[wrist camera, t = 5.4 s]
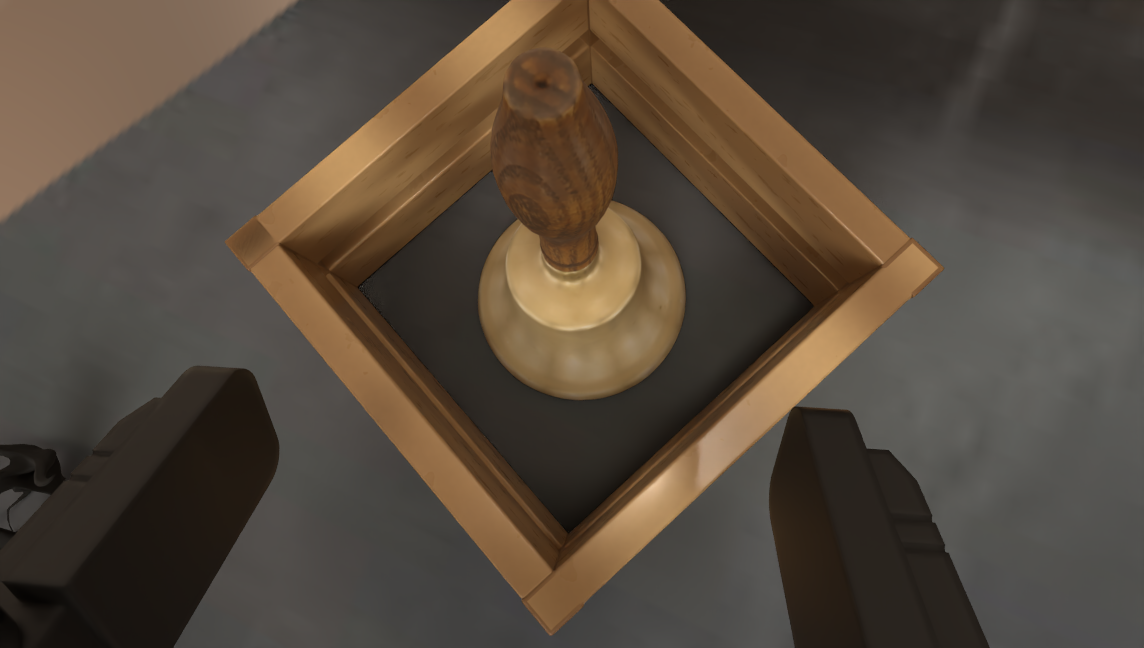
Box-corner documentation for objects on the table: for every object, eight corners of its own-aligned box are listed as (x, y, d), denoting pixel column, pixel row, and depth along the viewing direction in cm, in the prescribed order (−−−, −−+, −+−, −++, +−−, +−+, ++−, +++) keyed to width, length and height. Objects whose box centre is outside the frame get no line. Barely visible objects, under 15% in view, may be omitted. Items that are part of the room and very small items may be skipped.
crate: (593, 45, 28) (589, -70, 21) (860, 307, 25) (945, 267, 19) (316, 285, 27) (223, 241, 20) (565, 582, 24) (550, 638, 18)
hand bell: (470, 211, 27) (271, -94, 11) (669, 185, 27) (756, -167, 11) (488, 412, 25) (292, 387, 10) (699, 387, 25) (847, 320, 9)
